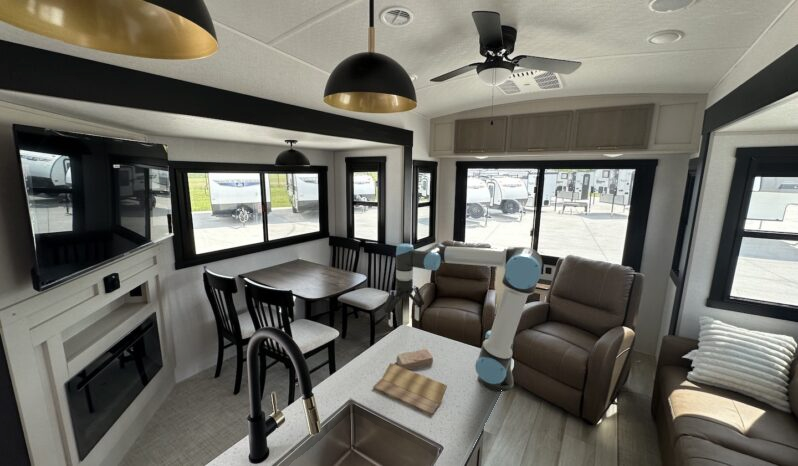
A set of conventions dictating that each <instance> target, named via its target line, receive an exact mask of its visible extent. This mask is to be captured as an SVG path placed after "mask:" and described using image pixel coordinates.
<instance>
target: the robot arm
mask: <svg viewBox="0 0 798 466" xmlns="http://www.w3.org/2000/svg"><path fill="white" fill-rule="evenodd" d="M395 260H396V261H395V262H396V264H395V265H396V267H395V290H392V289H389V292H388V296H387V297H386V298H387V299H386V300H385V304H384V306H383V308H382V311H383V312H384V313H385V314H386V318H387V319H388V325H389V327H391V328H392V327H393V325H394V324H393V321H394V320H393V317H394V316H393V315H394V313H393V310H394V309H395V307H396V306H397V305H398V303H399V302H400V301H401V300H404V299H409V298H410V299H411V300H412V302H413V303H414V304H415V305H414V320H416V321H417V322H418V321H420V313H421V310H422V309H421V308H422V307H423V306H424V305H425V301H424V299H423V297H422V296H421V293H420V288H419V287H418V286H417V285H414V284H413V283H414V282H413V281H414V280H413V278H414V268H415V269H423V270H428V271H437V270H438V269H439V268H440V266H441V263H443V264H444V263H447V264H457V265H459V264H460V265H470V266H471V265H472V266H484V267H494V268H495V267H497V268H498V267H499V268H503V269H504V274H503V278H502V281H501V283H502V285H503V287H504V288H503V291H502V294H501V298H500V300H499V301H500V302H499V305H498V307H497V311H496V315H495V318H494V320H493V324H492V325H491V326H492V327H491V329H490V330H488V331H487V332H486V333H485V336H484V337H485V340H484V341H483V342H482V346H481V348H480V352H479V355H478V358H477V359H476V361H475V365H474V367H475V372H476V373H477V375H478V381H479V382H480V383H481V385H482V386H483V387H485V388H487V389H489V390H491V391H495V392H507V391H510V390H511V389H513V387H514V381H515V380H514V376H513V371H512V367H511V366H512V357H513V348H514V338H515V336H516V332H517V329H518V326H519V324H520V320H521V318H522V315H523V311H524V308H525V305H526V303H527V300H528V297H529V296H530V295H533V294H534V292H535V290H536V287H537V284H538V281H540V278H541V276H542V268H543V259H542V256H541V255H540V253H539V252H538V251H537V250H535V249H534V248H530V247H525V246H517V247H516V246H506V247H505V248H485V247H468V246H467V247H465V246H464V247H463V246H446V245H443V244H441V243H439V244H434V245H432V246H431V247H429V248H427V249H425V250H417V249H414V245H413V244H410V243H400V244H397V246H396V251H395ZM413 292H414V293H415V296H416V298H417V299H416V298H415V297H414V295H413V294H412V293H413ZM501 390H502V391H501Z"/></svg>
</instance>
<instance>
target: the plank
mask: <svg viewBox="0 0 798 466" xmlns="http://www.w3.org/2000/svg"><path fill="white" fill-rule="evenodd" d="M381 379H382V380H385V381H387V382H389V383H392V384H394V385H396V386H399V387H401V388H403V389H405V390H408V391H410V392H412V393H415V394H417V395H419V396H422V397H424V398H426V399H428V400H431V401H433V402H435V403H438V404H439V406H440V405H441V403H442V401H443V398H444V396H445V393H446V390H447V389H448V386H447V384H445V383H443V382H439V381H437V380H434V379H432V378H429V377H426V376H425V375H422V374H421V373H418V372H417V373H416V372H414V371H412V370H410V369H409V370H407V369H404V368H402V367H399V365H398V364H394V363H393V362H390V363H389V365H388V367H387V368H386V371H385V372H384V374H383V376H382V378H381Z"/></svg>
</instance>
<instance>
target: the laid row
mask: <svg viewBox="0 0 798 466" xmlns="http://www.w3.org/2000/svg"><path fill="white" fill-rule="evenodd" d="M372 389H373V390H375V391H377V392H379V393H381V394H383V395H386V396H387V397H390V398H391V399H394V400H396V401H398V402H401V403H403V404H404V405H407V406H409V407H410V408H414V409H416V410H418V411H419V412H422V413H424V414H426V415H428V416H431V417H433V416H434V415H435V413H436V411H438V408H439V407H440V405H439V404H438V403H435V402H433V401H431V400H428V399H426V398H424V397H422V396H419V395H417V394H415V393H412V392H410V391H408V390H405V389H403V388H401V387H399V386H396V385H394V384H392V383H389V382H387V381H385V380H382V378H381V379H379V380H378V381H377V382H376V383H375V384H374V385H373V386H372Z"/></svg>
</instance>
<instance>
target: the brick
mask: <svg viewBox="0 0 798 466" xmlns="http://www.w3.org/2000/svg"><path fill="white" fill-rule="evenodd" d="M433 364H434V358H433V355H432V353H430V351H428V349H427V348H423V349H418V350H414V351H409V352H402V353H398V354H397V356H396V365H397V366H399V367H402V368H404V369H407V370H409V371H410V370H414V369H419V368H423V367H428V366H432V365H433Z"/></svg>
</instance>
